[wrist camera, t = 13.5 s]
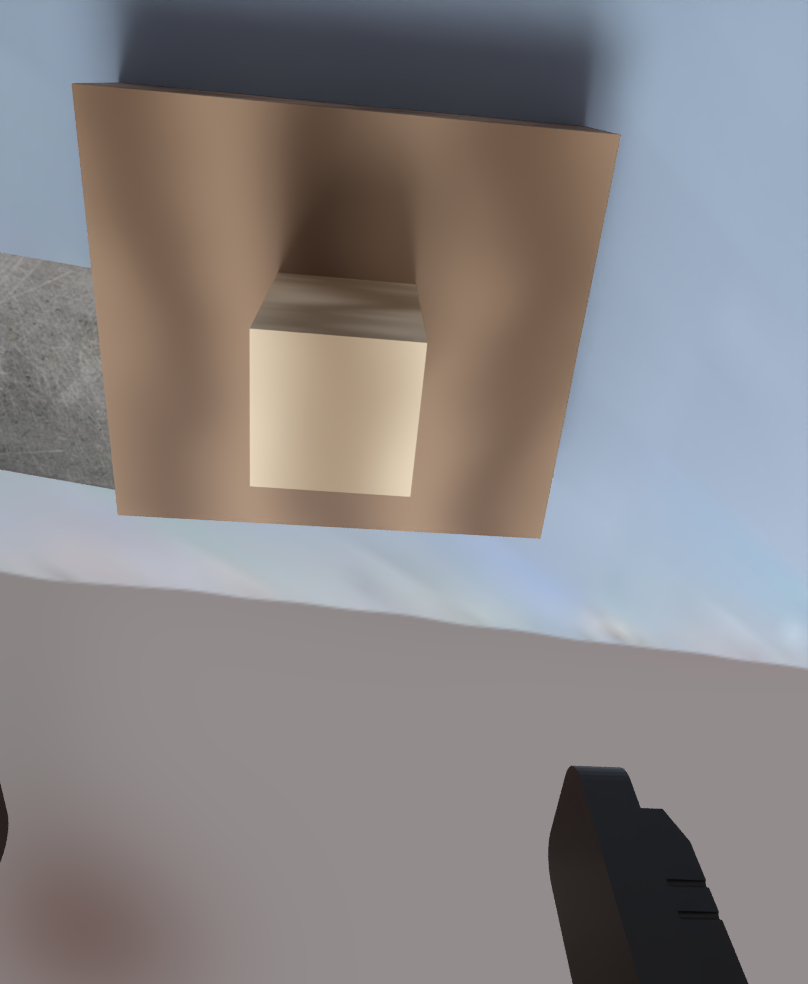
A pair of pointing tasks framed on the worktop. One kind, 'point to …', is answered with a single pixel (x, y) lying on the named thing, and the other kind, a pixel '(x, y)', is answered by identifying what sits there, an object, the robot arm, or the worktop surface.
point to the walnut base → (342, 254)
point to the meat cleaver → (51, 374)
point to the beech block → (336, 385)
